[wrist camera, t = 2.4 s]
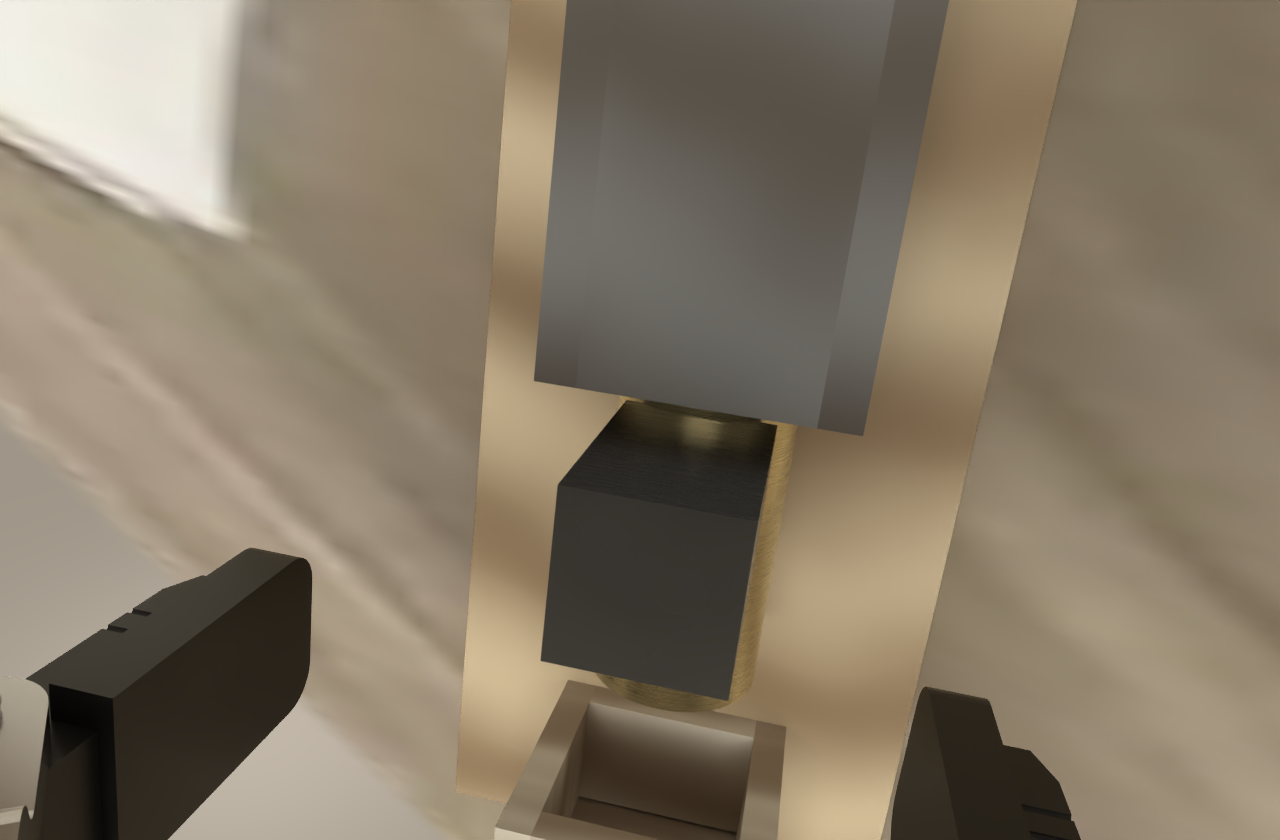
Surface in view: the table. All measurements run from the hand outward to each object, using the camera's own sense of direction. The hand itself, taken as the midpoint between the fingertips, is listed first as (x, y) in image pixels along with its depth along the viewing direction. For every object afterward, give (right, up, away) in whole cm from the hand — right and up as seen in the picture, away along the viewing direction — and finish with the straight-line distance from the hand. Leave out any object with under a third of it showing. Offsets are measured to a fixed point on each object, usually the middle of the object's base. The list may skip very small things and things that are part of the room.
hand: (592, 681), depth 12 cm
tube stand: (+3, +5, +12) cm, 13 cm away
